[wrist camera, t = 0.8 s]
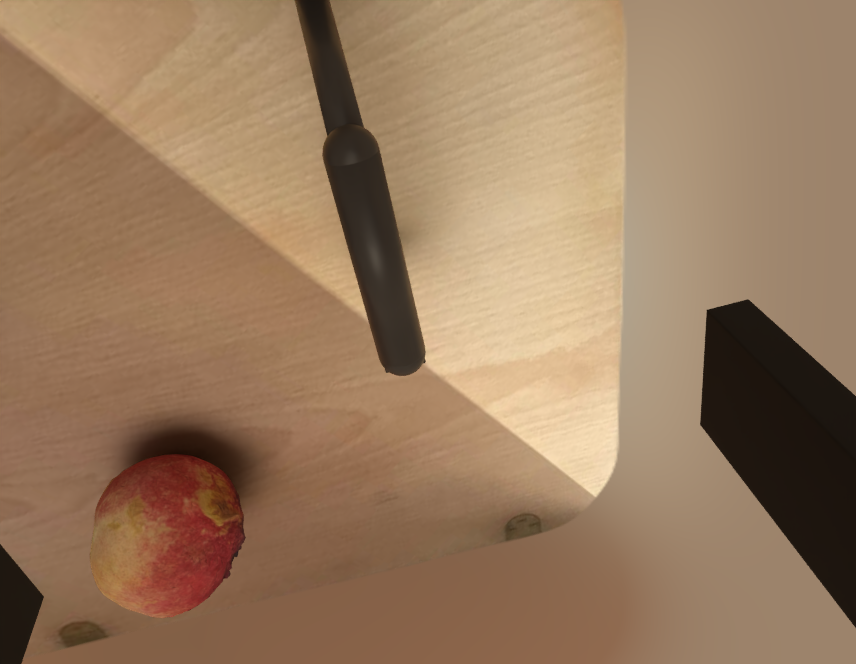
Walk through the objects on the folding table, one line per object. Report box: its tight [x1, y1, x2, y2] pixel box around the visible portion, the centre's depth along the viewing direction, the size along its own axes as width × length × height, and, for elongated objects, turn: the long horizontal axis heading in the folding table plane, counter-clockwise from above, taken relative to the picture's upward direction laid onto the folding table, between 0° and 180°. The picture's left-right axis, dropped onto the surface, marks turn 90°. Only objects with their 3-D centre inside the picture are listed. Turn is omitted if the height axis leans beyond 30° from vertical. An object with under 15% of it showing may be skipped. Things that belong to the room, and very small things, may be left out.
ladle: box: [295, 0, 426, 376], centre depth 25 cm, size 19×6×10 cm, turn 10°
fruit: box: [90, 454, 245, 618], centre depth 36 cm, size 8×8×8 cm
